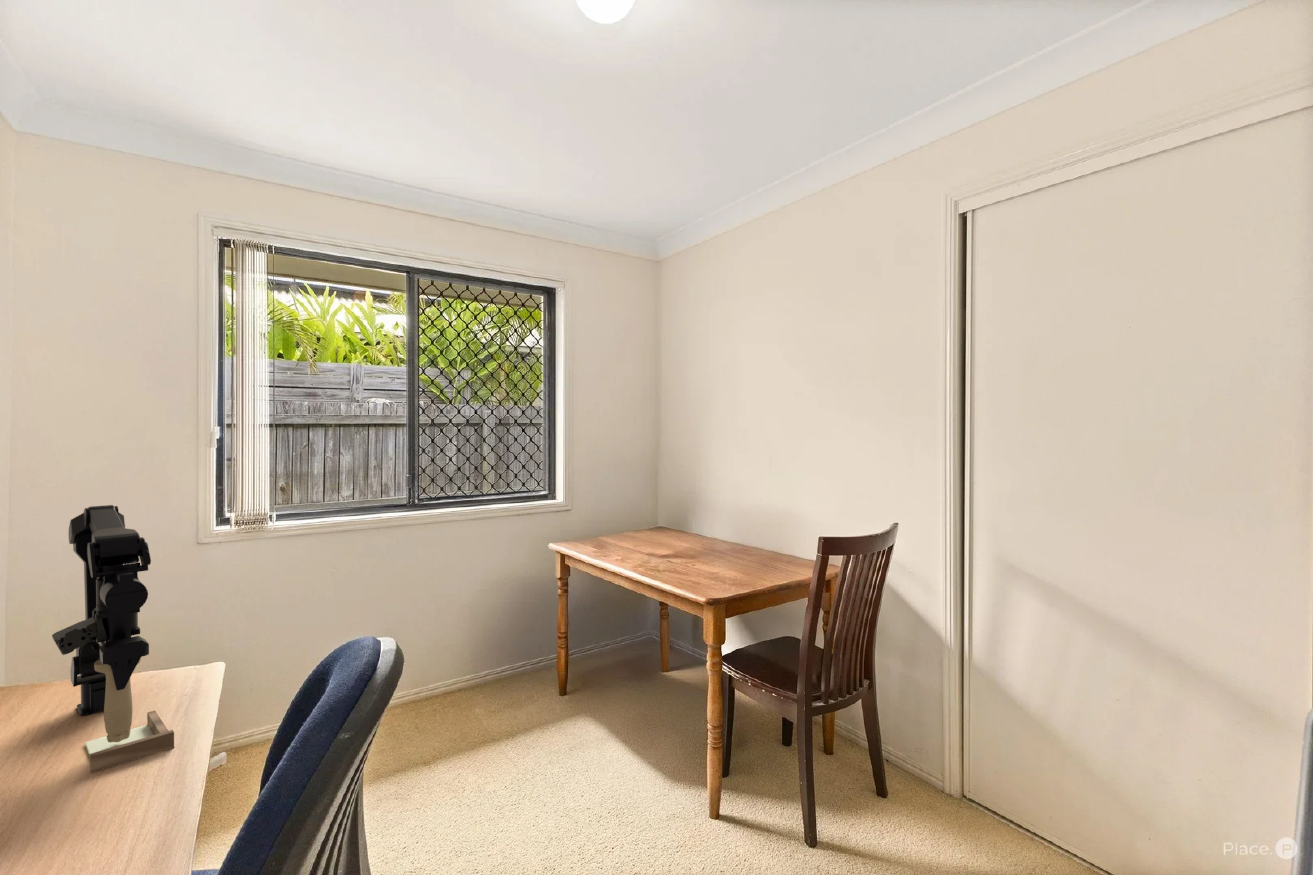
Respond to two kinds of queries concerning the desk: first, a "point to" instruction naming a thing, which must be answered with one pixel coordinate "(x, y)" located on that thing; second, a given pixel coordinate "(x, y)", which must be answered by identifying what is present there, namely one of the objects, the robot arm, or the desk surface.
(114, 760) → the walls
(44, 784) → the desk surface
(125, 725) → the handle
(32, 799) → the desk surface
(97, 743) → the pad
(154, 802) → the desk surface
